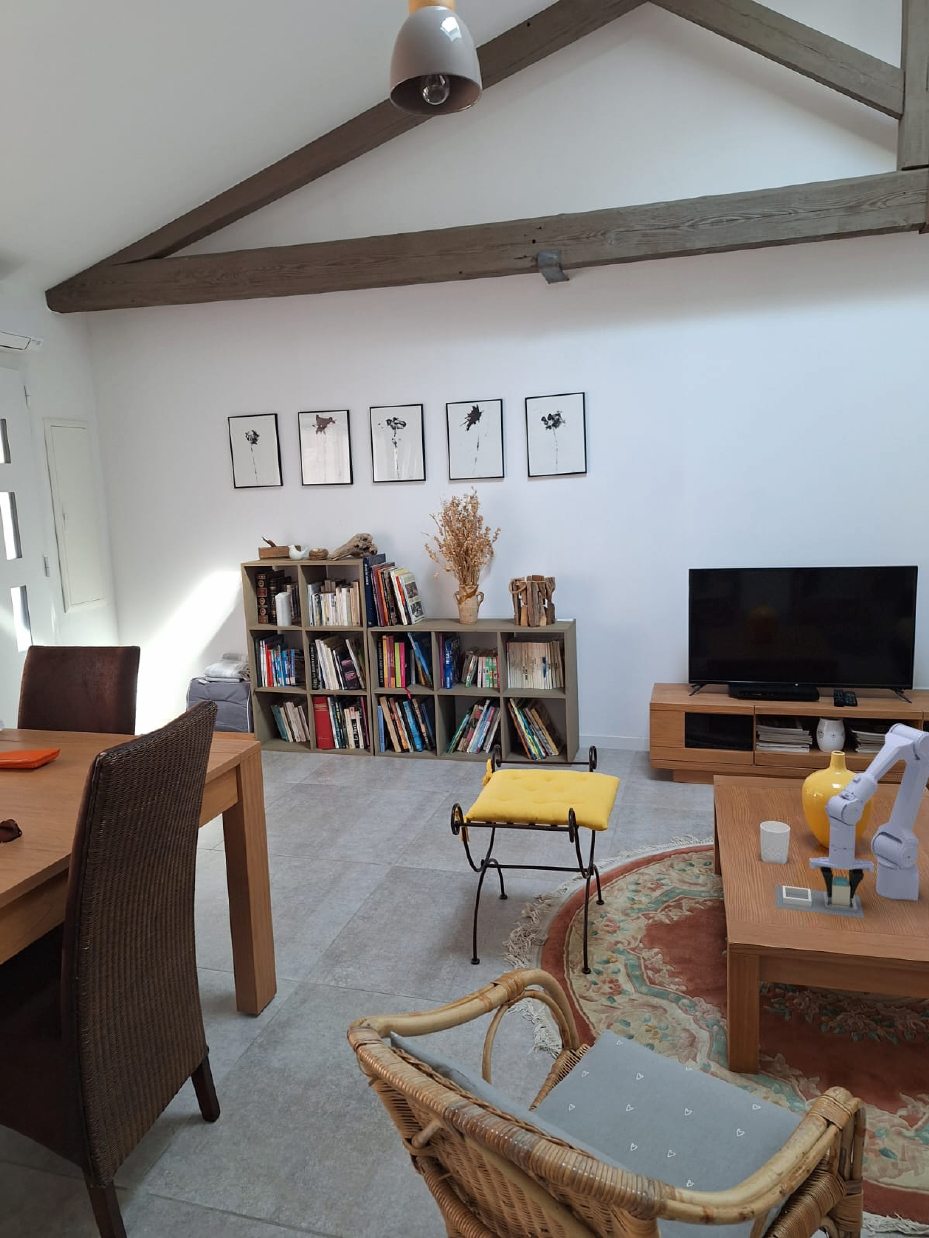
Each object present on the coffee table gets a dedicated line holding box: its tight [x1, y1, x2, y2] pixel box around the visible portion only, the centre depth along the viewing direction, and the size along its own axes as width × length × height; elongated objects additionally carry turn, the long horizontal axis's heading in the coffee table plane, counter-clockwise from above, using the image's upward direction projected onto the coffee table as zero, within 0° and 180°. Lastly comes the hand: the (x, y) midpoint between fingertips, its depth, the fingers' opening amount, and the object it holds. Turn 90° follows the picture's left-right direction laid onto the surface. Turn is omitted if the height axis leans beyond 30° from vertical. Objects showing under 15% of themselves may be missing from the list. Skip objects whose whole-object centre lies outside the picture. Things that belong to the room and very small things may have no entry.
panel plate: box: [774, 885, 865, 919], centre depth 212 cm, size 20×12×1 cm, turn 71°
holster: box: [823, 891, 857, 913], centre depth 210 cm, size 7×7×1 cm
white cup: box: [759, 820, 791, 865], centre depth 237 cm, size 8×8×10 cm
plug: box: [831, 875, 850, 906], centre depth 210 cm, size 4×4×6 cm
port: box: [782, 885, 812, 907], centre depth 213 cm, size 7×7×2 cm
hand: (840, 896), depth 210 cm, fingers closed on plug, 4 cm apart
